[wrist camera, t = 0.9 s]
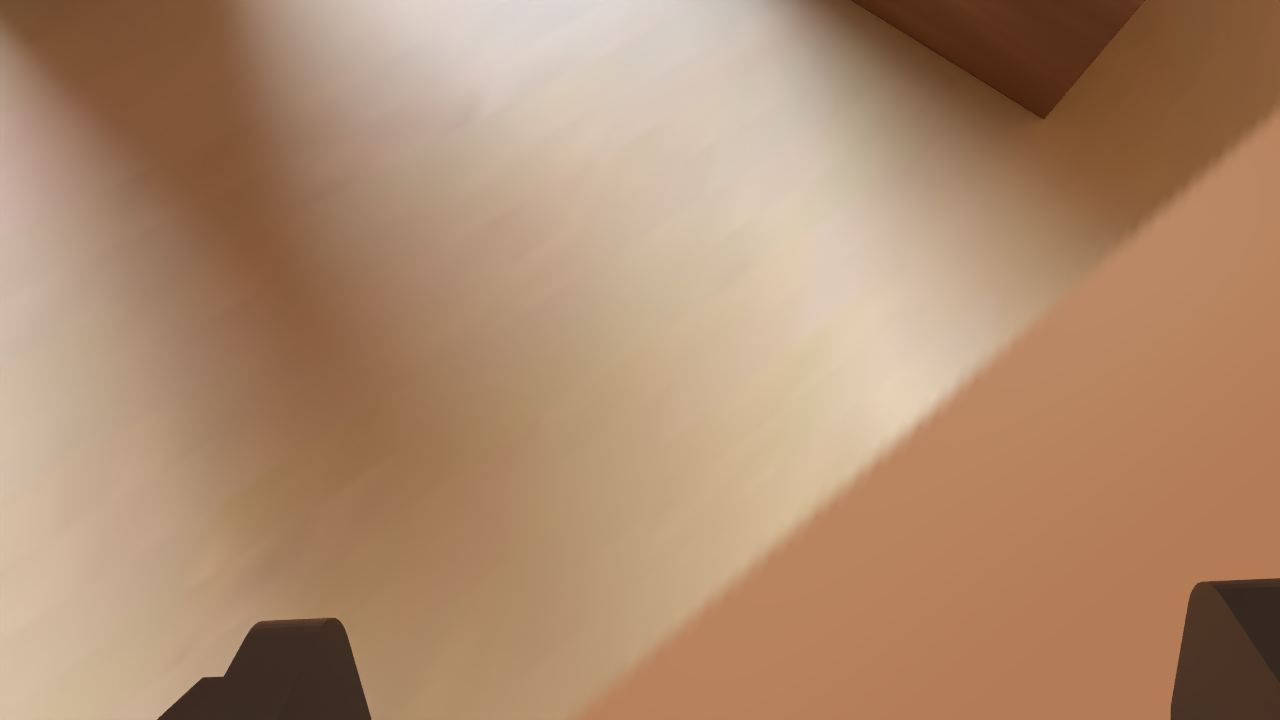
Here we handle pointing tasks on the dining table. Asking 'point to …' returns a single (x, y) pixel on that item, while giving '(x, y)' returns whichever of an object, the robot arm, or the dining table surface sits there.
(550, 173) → the dining table surface
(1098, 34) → the walnut plinth
